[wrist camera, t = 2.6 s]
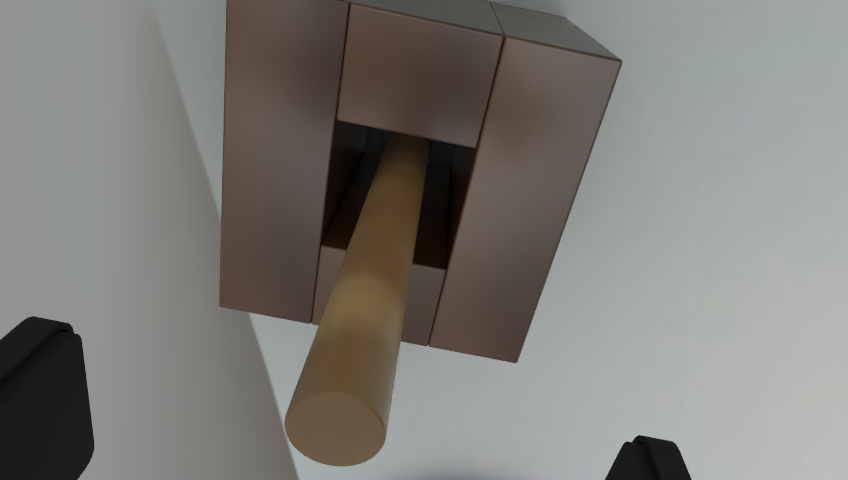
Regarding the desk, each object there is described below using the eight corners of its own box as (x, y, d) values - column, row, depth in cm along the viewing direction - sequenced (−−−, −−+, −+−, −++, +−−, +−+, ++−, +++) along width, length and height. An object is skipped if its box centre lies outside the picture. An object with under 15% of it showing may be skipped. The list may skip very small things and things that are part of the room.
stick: (394, 130, 28) (280, 457, 10) (401, 95, 27) (287, 384, 9) (430, 137, 28) (377, 475, 10) (437, 102, 27) (393, 403, 10)
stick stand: (289, 199, 30) (218, 306, 21) (310, -38, 25) (226, -25, 16) (501, 241, 30) (517, 364, 22) (567, 17, 25) (624, 60, 16)
